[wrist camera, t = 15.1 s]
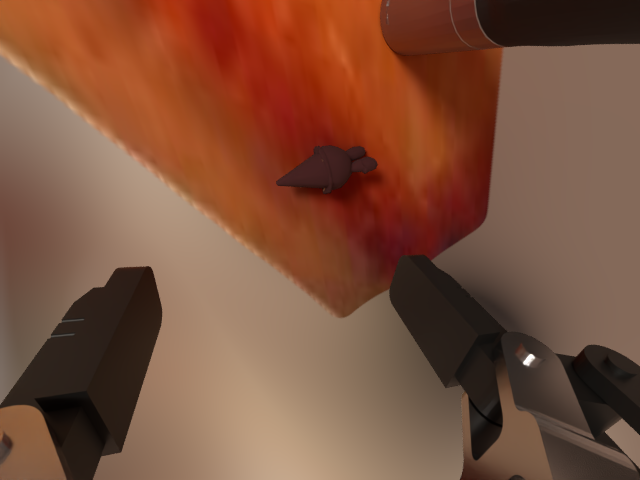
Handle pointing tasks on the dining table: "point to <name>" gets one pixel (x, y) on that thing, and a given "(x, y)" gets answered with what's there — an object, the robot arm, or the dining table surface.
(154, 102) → the dining table surface
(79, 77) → the dining table surface
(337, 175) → the icecream
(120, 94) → the dining table surface
